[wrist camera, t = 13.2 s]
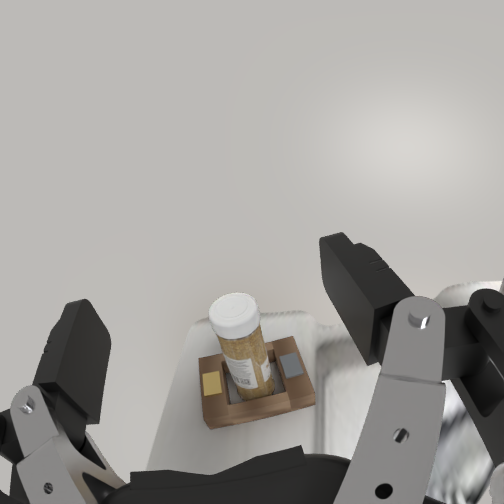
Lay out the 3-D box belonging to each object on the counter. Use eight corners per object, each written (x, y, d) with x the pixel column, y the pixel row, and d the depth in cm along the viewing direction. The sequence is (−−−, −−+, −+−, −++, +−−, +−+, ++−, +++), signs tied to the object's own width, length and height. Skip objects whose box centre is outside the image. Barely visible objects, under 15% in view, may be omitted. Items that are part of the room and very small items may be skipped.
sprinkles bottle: (283, 386, 34) (268, 303, 27) (254, 411, 32) (228, 332, 25) (256, 367, 37) (235, 284, 30) (229, 389, 35) (197, 309, 28)
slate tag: (296, 353, 35) (295, 352, 35) (303, 374, 32) (303, 372, 32) (279, 358, 35) (279, 356, 35) (286, 378, 32) (286, 377, 32)
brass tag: (219, 372, 34) (218, 370, 34) (222, 393, 32) (221, 392, 32) (203, 375, 34) (202, 374, 34) (205, 397, 32) (204, 395, 31)
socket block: (294, 348, 39) (292, 335, 38) (315, 404, 31) (315, 393, 30) (204, 370, 38) (198, 358, 37) (210, 429, 30) (203, 419, 29)
